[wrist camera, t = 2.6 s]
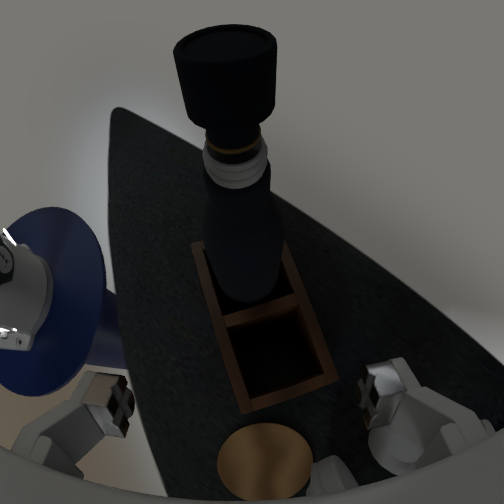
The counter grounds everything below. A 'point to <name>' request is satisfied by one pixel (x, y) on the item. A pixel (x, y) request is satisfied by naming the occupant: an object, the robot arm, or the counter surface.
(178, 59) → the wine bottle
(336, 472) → the headphones
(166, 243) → the counter surface
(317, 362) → the wooden compartment tray
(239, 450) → the coaster
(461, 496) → the robot arm
